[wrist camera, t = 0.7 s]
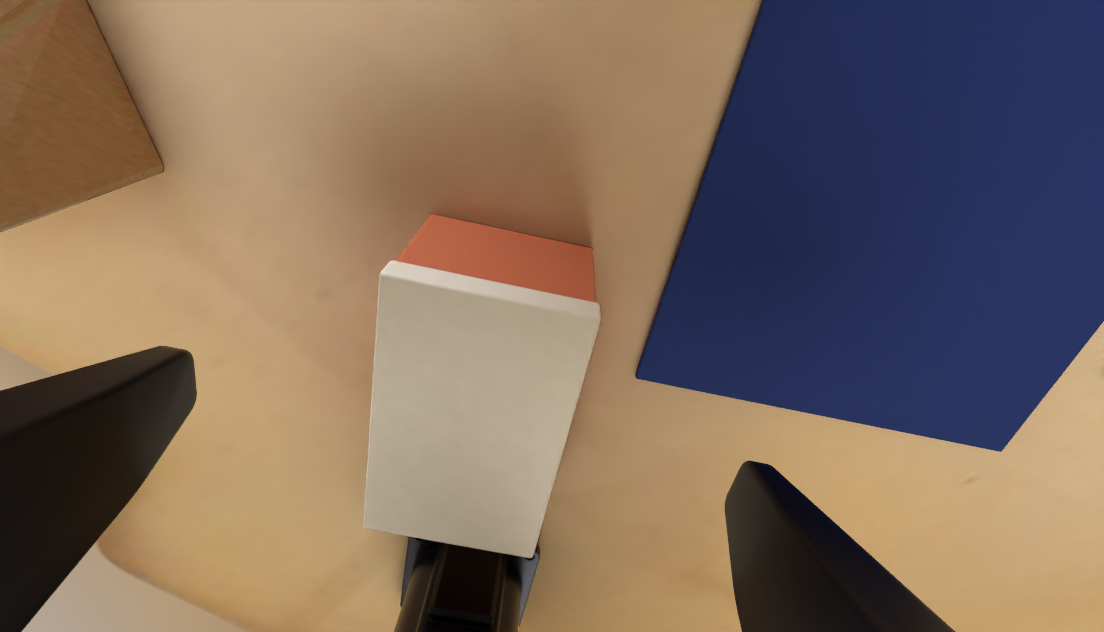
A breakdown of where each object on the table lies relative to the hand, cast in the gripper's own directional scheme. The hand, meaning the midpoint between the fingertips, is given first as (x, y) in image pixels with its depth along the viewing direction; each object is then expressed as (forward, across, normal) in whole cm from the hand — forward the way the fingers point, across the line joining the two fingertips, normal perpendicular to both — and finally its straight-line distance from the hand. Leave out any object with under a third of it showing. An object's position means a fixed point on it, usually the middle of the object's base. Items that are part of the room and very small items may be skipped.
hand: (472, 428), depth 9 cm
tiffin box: (+12, 0, +6) cm, 14 cm away
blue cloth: (+12, -14, -2) cm, 18 cm away
